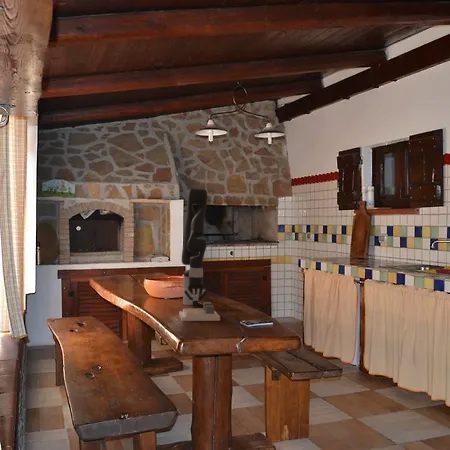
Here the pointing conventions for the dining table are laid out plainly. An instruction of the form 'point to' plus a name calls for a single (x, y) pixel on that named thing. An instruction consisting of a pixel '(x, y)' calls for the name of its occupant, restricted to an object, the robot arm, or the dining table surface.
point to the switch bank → (198, 315)
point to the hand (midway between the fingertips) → (195, 307)
